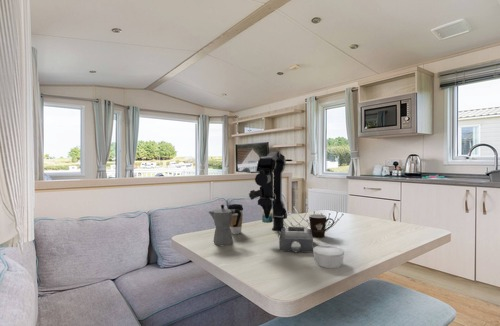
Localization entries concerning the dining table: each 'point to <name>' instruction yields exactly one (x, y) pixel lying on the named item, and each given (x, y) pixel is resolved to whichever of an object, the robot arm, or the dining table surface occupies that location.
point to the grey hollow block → (296, 239)
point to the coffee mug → (318, 225)
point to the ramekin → (328, 256)
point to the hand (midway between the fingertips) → (267, 217)
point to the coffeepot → (224, 225)
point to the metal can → (270, 218)
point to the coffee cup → (234, 217)
